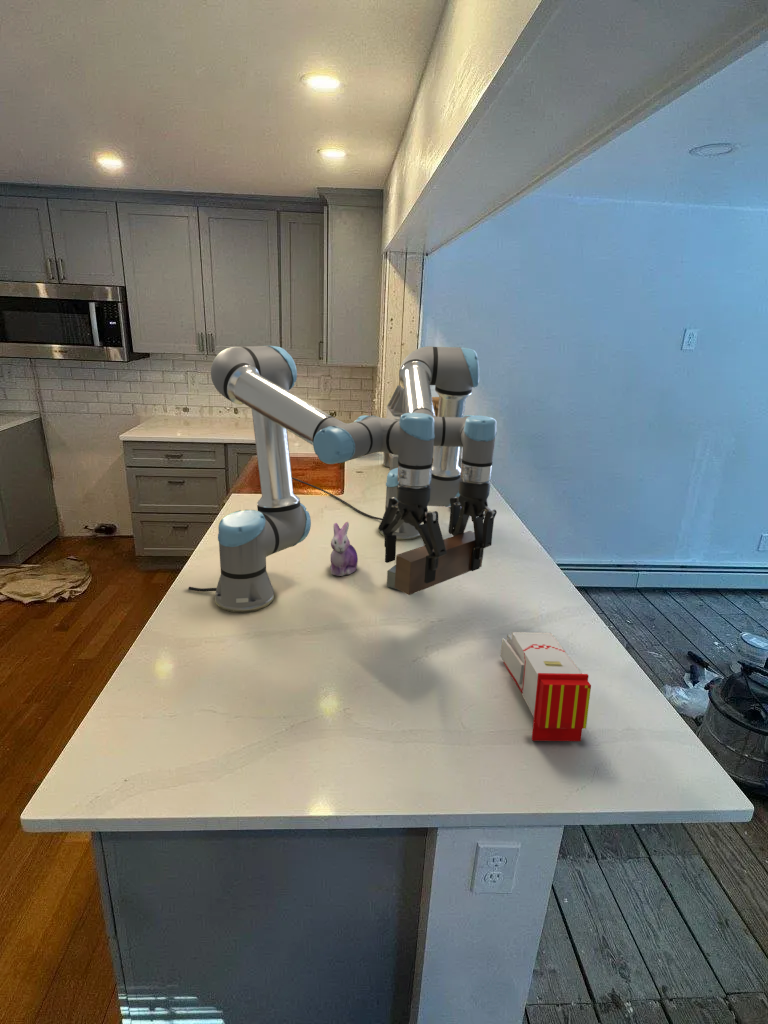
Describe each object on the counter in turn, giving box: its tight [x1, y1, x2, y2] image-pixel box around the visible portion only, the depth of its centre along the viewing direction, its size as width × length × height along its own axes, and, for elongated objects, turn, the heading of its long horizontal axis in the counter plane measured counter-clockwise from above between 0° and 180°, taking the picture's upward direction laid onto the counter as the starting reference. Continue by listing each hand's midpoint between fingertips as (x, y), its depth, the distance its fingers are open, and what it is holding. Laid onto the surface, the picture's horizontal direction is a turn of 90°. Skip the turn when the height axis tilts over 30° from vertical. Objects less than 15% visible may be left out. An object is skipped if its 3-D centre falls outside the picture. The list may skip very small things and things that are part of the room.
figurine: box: [329, 521, 359, 577], centre depth 168 cm, size 9×10×15 cm
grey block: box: [386, 564, 400, 591], centre depth 162 cm, size 5×5×5 cm
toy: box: [499, 631, 592, 742], centre depth 117 cm, size 12×13×30 cm
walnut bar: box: [395, 530, 483, 596], centre depth 140 cm, size 26×5×8 cm, turn 131°
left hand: (409, 571), depth 133 cm, fingers open, 13 cm apart
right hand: (466, 565), depth 148 cm, fingers closed on walnut bar, 5 cm apart
